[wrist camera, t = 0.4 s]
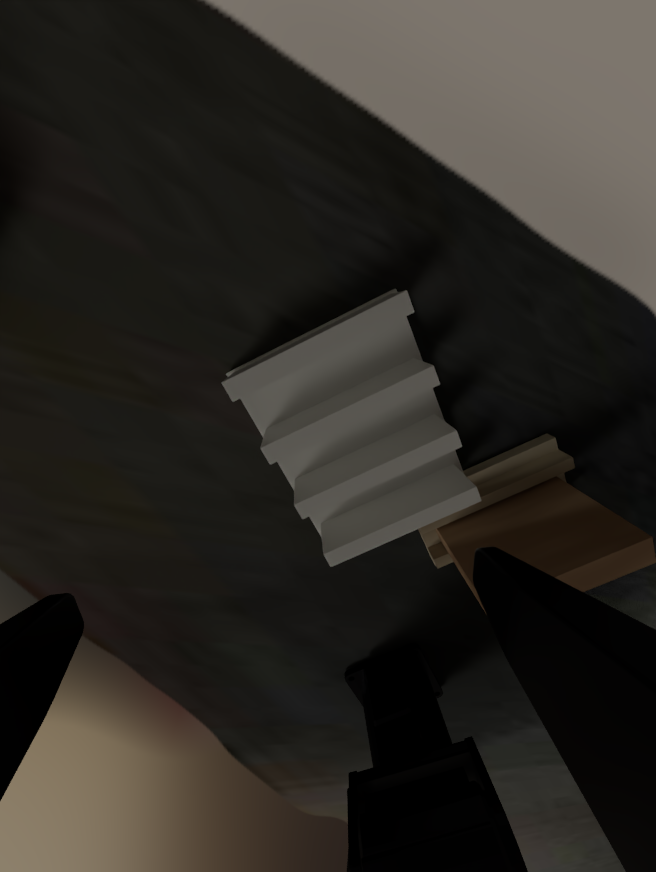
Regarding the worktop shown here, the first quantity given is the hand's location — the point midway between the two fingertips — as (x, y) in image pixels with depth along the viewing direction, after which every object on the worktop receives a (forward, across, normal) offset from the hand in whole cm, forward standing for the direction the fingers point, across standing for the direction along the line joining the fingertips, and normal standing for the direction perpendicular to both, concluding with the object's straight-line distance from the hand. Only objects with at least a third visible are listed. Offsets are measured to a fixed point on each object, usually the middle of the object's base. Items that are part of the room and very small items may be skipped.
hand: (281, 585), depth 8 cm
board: (+13, -12, +7) cm, 19 cm away
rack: (+14, -4, +1) cm, 14 cm away
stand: (+14, -12, +7) cm, 20 cm away
